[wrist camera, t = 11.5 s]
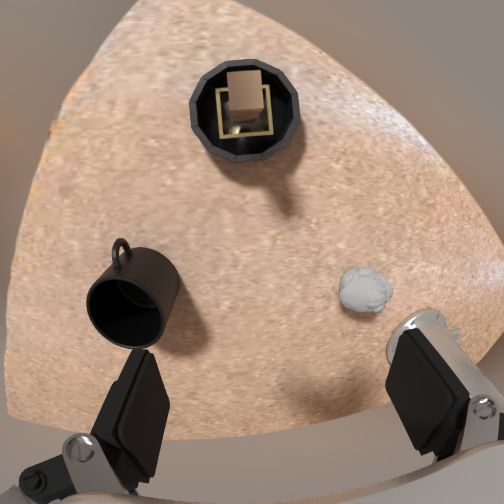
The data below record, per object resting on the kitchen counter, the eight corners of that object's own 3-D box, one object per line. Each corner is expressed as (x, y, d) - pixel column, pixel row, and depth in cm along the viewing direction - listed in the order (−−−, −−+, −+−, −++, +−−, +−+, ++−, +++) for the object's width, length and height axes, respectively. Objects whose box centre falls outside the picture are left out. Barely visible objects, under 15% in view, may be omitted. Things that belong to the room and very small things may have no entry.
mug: (166, 221, 34) (144, 246, 25) (186, 306, 38) (174, 348, 30) (101, 233, 34) (66, 258, 25) (125, 311, 38) (103, 350, 30)
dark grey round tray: (288, 66, 28) (294, 57, 25) (296, 156, 32) (303, 157, 29) (191, 73, 28) (186, 66, 24) (199, 165, 32) (195, 167, 28)
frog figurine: (372, 293, 39) (393, 319, 32) (328, 299, 39) (343, 328, 32) (377, 255, 37) (401, 276, 30) (330, 259, 37) (348, 283, 30)
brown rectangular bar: (252, 97, 29) (260, 70, 17) (254, 122, 30) (263, 108, 19) (230, 99, 29) (226, 72, 17) (232, 124, 30) (230, 110, 19)
